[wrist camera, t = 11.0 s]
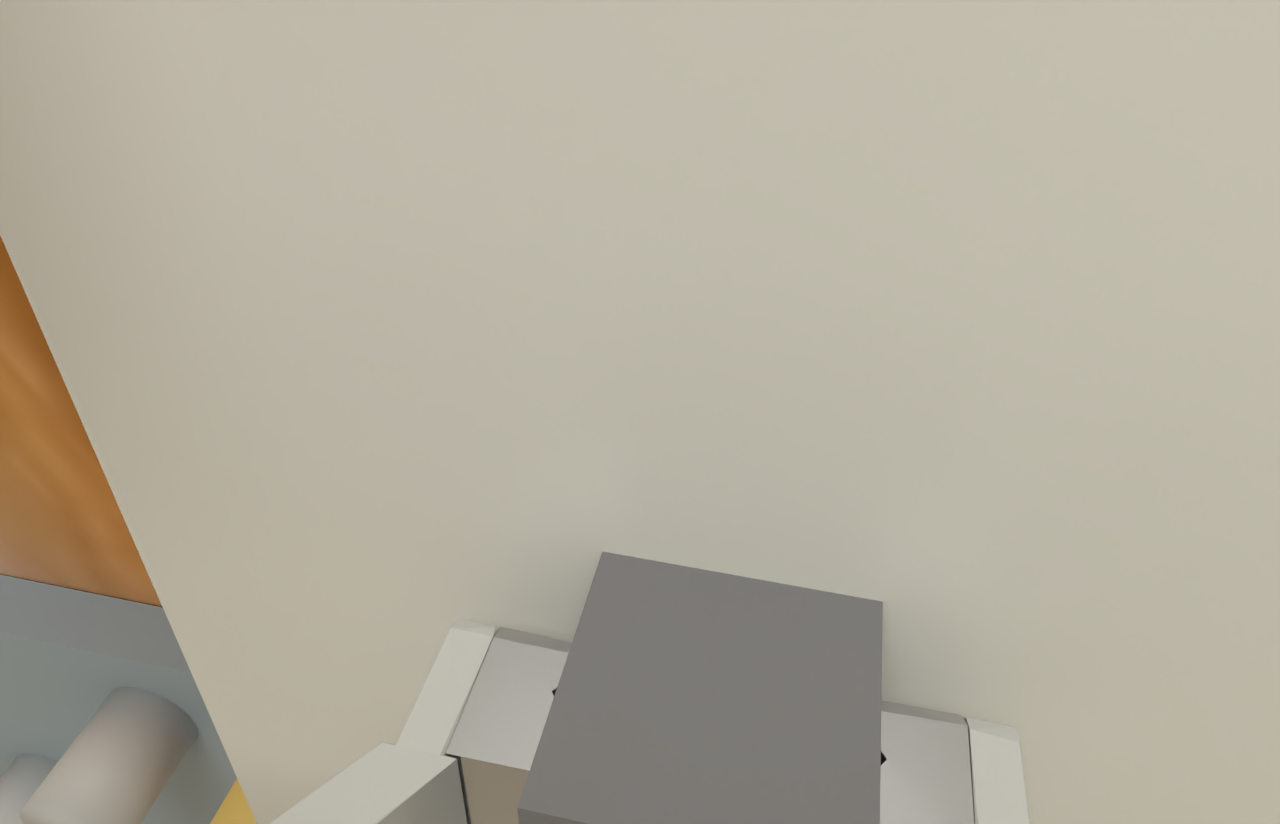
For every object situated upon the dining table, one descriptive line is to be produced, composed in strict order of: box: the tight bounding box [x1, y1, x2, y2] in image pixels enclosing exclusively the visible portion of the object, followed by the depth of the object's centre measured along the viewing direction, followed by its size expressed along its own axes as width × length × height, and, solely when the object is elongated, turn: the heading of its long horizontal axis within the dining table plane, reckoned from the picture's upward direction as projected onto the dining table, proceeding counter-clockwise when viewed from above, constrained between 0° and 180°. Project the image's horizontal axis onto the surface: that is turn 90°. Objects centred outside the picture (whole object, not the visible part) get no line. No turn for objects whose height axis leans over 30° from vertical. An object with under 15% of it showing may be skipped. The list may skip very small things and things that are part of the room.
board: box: [0, 575, 237, 824], centre depth 32 cm, size 12×12×6 cm
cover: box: [0, 0, 1280, 824], centre depth 13 cm, size 15×15×11 cm
